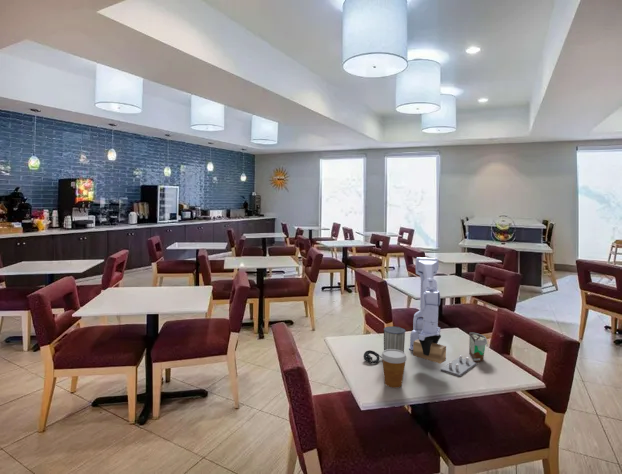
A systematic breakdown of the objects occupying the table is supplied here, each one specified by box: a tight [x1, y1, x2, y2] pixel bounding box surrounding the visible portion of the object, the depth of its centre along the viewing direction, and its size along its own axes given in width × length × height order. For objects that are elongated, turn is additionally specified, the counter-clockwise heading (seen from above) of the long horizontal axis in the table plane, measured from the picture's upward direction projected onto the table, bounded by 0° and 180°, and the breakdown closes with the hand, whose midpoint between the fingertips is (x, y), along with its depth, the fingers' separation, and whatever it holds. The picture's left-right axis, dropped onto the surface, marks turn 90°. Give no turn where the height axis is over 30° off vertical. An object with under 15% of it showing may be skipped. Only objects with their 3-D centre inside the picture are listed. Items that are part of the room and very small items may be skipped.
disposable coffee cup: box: [380, 349, 408, 389], centre depth 146 cm, size 10×10×12 cm
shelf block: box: [412, 339, 447, 365], centre depth 157 cm, size 4×12×6 cm, turn 45°
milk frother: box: [363, 326, 406, 364], centre depth 166 cm, size 14×16×15 cm
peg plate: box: [440, 354, 478, 378], centre depth 162 cm, size 8×17×3 cm, turn 136°
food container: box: [468, 331, 488, 363], centre depth 172 cm, size 12×6×10 cm, turn 168°
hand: (429, 353), depth 157 cm, fingers closed on shelf block, 4 cm apart
